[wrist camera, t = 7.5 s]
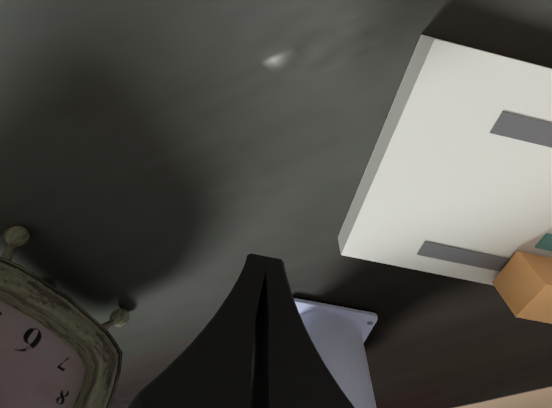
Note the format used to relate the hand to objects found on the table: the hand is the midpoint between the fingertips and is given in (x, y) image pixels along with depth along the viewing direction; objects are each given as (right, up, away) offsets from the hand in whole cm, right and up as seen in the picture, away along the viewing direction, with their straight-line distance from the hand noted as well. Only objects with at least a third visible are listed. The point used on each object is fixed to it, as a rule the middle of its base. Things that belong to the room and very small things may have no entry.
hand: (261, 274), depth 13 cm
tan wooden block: (+18, -2, +10) cm, 21 cm away
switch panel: (+17, +4, +9) cm, 19 cm away
